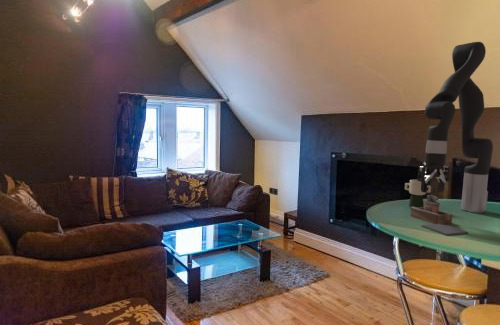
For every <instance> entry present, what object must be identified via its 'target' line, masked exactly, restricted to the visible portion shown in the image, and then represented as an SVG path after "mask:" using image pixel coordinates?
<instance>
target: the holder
mask: <svg viewBox="0 0 500 325" xmlns="http://www.w3.org/2000/svg"><path fill="white" fill-rule="evenodd" d="M410 217H413V218H415V219H418V220H420V221H421V220H422V221H424V222H427V223H430V224H440V223H443V224H446V225H449V224H452V222H453V214H451V213H449V212H445V211H442V210H439V213H438V214H436V213H433V212H430V211H426V210H424V207H417V208H416V207H410Z"/></svg>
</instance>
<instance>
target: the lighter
mask: <svg viewBox="0 0 500 325" xmlns="http://www.w3.org/2000/svg"><path fill="white" fill-rule="evenodd" d="M438 201H439V197H438V196H435V195H434V194H433V195H432V194H427V195H426V199H423V202H424V210H426V211H430V212H433V213H436V214H438V213H439V211H440V210H439V209H440V205H441V204H440V202H438Z"/></svg>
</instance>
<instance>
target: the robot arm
mask: <svg viewBox="0 0 500 325" xmlns="http://www.w3.org/2000/svg"><path fill="white" fill-rule="evenodd" d="M486 54H487V52H486V46H485V44H484V43H483V41H482V42H481V41H472V42H467V43H462V44H458V45H456V46H455V47H454V48H453V49H452V53H451V56H452V57H451V59H452V64H453V65H452V66H453V70H454V73H452V74H451V75H450V76H449V77H448V78H447V79H445V81H444V82H443V84H442V86H441V87H440V90H439V92H437V93H436V94H435V96H433V97H432V98H431V99H430V100H429V101H428V102H427V104H426V106H425V108H424V115H425V117H426V119H428V120H433V121H435V120H438V121H439V120H440V121H439V122H438V124H436V125H431V126H429V127H428V129H427V137H426V138H427V139H426V144H425V152H424V154H425V155H424V164H425V166H422V165H421V166H420V165H419V166H418V169H417V177H416V180H417V181H420V182H421V191H422V192H424V193H426V194H427V190H428V187H427V185H429V183H428V182H429V181H430V180H431V179H432V178H436V179H437V181H438V183H437V184H438V185H437V191H438V192H439V193H443V192H444V190H445V186H446V183H447V182H450V179H451V177H450V176H451V174H450V173H451V167H450V166H446V163H447V155H448V154H447V153H448V152H447V151H448V135H449V134H448V133H449V131H450V130H449V129H450V126H451V124H452V122H453V119H454V117H455V115H456V106H455V103H454V102H455V101H456V100H458V106H459V114H460V115H459V116H460V123H461V150H462V155H463V156H464V157H465V158H468V159H477V162H476V163H474V164H470V165H467V166H464V172H463V183H462V191H461V192H462V194H461V205H460V210H462V211H465V212H470V213H477V214H478V213H479V214H481V213H485V212H486V211H487V206H488V196H489V195H488V194H489V191H488V190H487V189H488V181H489V172H490V169H491V165H492V163H491V162H492V155H493V150H494V145H493V141H492V140H491V139H489V138H485V137H484V138H481V137H479V138H478V137H475V135H474V134H475V132H474V131H475V127H476V125H477V123H478V122H479V120H480V118H481V117H482V116H483V113H484V110H485V98H484V93H483V91H482V90H481V89H480V87H479V86H478V85H477V84H476V83H475V82H474V81H473V79H472V78H471V77H472V75H473V74H475V72H476V70H477V69H478V68H479V66H480V65H481V64H482V62H483V61H484V59H485V57H486Z"/></svg>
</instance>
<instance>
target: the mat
mask: <svg viewBox="0 0 500 325" xmlns="http://www.w3.org/2000/svg"><path fill="white" fill-rule="evenodd" d="M421 227H422V228H424V229H427V230H430V231H432V232H435V233H438V234H442V235H444V236H456V235H463V234H464V235H466V234H469V231H467V230H465V229H460V228H458V227H455V226H451V225H449V224H443V223H440V224H433V223H430V224H421Z"/></svg>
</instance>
